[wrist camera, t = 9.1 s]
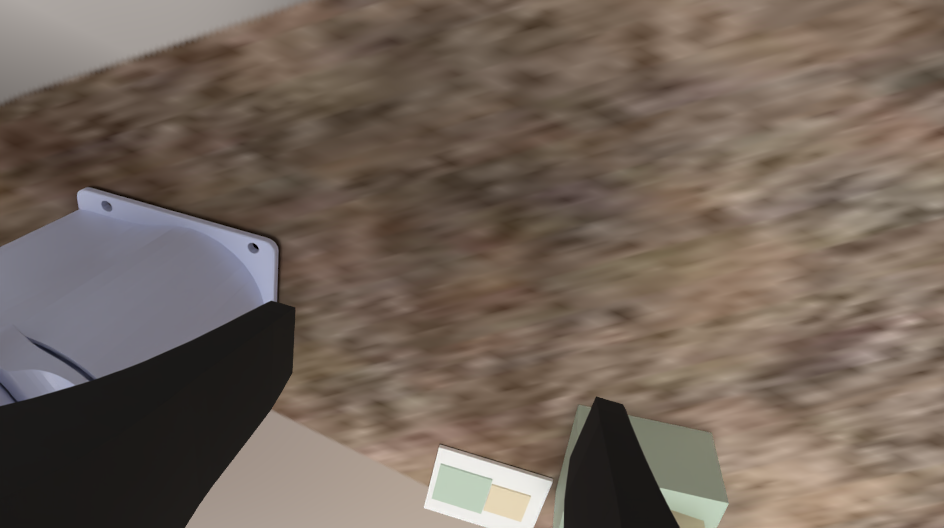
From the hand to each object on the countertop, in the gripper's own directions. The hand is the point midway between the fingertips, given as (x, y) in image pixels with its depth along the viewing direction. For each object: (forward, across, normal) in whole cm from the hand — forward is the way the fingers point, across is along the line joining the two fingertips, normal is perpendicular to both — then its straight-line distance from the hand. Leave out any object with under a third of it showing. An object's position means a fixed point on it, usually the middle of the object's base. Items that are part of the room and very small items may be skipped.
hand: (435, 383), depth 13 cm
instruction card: (+10, -3, +16) cm, 19 cm away
